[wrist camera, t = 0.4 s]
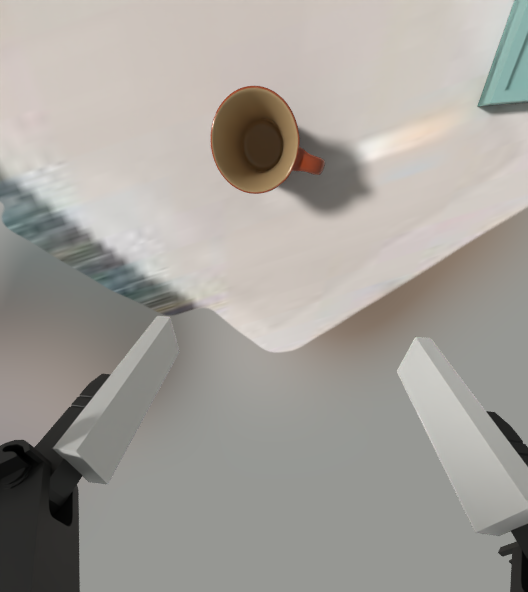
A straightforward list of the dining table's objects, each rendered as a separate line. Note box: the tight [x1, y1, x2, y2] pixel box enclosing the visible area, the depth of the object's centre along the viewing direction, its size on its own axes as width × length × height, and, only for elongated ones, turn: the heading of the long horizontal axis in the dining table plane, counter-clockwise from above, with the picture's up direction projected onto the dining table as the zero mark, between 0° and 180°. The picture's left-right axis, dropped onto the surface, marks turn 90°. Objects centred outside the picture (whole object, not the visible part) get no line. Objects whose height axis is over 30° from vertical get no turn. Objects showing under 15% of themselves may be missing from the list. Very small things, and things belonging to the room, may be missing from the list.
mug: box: [211, 86, 325, 194], centre depth 26 cm, size 12×9×10 cm
